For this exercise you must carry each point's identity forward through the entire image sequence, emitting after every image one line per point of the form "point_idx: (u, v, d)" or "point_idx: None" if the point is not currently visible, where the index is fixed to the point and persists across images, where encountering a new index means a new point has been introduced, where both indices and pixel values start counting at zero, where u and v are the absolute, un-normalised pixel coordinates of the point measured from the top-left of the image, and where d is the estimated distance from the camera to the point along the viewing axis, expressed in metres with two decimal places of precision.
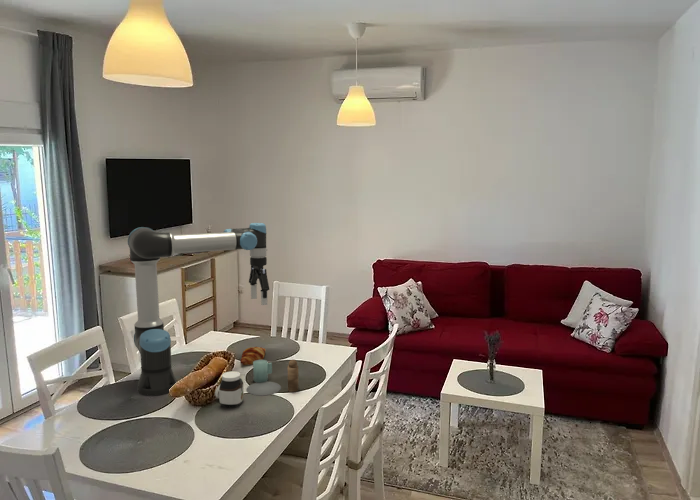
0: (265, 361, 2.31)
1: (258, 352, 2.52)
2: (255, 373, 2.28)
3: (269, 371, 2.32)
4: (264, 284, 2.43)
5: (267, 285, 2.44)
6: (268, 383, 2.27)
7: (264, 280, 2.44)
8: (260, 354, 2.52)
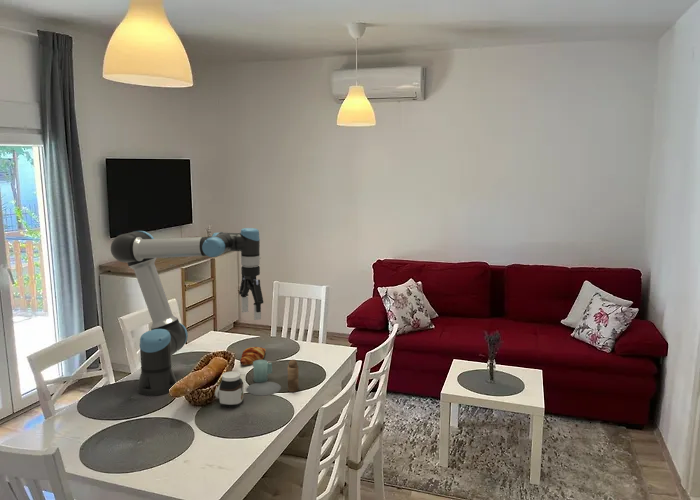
0: (265, 361, 2.31)
1: (258, 352, 2.52)
2: (255, 373, 2.28)
3: (269, 371, 2.32)
4: (258, 297, 2.18)
5: (261, 298, 2.18)
6: (268, 383, 2.27)
7: (258, 292, 2.18)
8: (260, 354, 2.52)
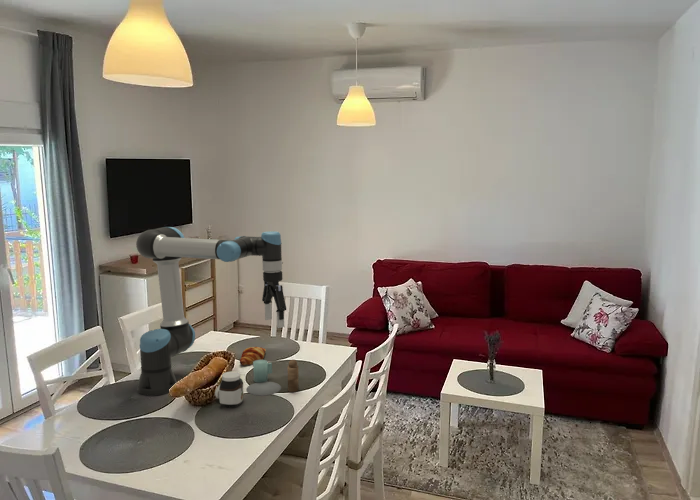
0: (265, 361, 2.31)
1: (258, 352, 2.52)
2: (255, 373, 2.28)
3: (269, 371, 2.32)
4: (280, 303, 2.07)
5: (284, 304, 2.07)
6: (268, 383, 2.27)
7: (280, 299, 2.07)
8: (260, 354, 2.52)
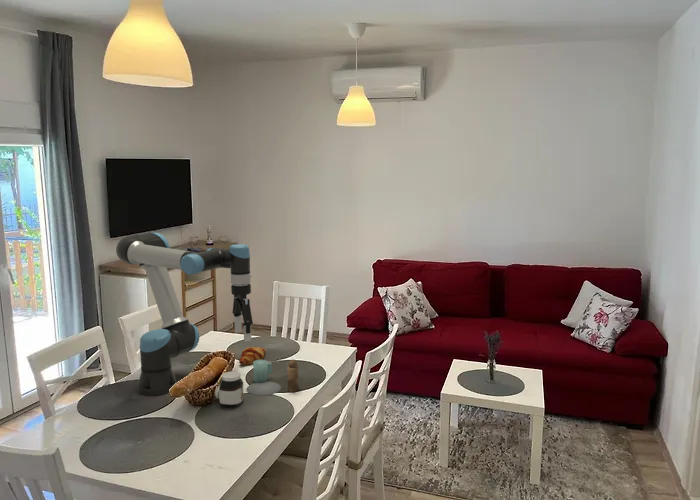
0: (265, 361, 2.31)
1: (257, 352, 2.52)
2: (255, 373, 2.28)
3: (269, 371, 2.32)
4: (246, 317, 2.06)
5: (250, 318, 2.06)
6: (268, 383, 2.27)
7: (247, 312, 2.06)
8: (259, 354, 2.52)
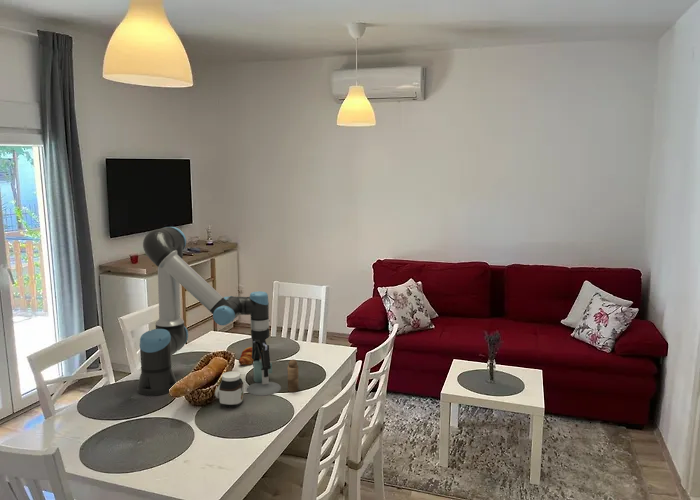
0: None
1: None
2: (255, 373, 2.28)
3: (269, 371, 2.32)
4: (265, 363, 2.22)
5: (268, 363, 2.23)
6: None
7: (266, 358, 2.22)
8: None
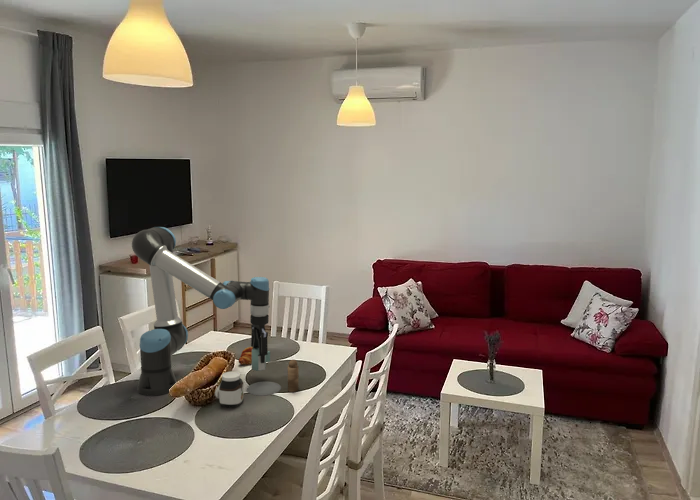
0: None
1: None
2: (253, 361, 2.27)
3: (267, 359, 2.31)
4: (263, 349, 2.23)
5: (266, 350, 2.23)
6: (268, 383, 2.27)
7: (263, 345, 2.23)
8: None
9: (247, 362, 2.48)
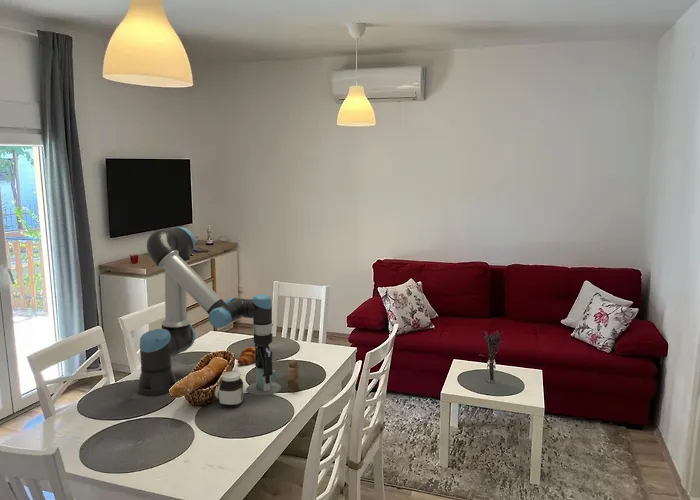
0: None
1: None
2: (258, 381, 2.19)
3: (273, 379, 2.23)
4: (267, 369, 2.15)
5: (270, 370, 2.16)
6: None
7: (268, 365, 2.15)
8: None
9: (246, 362, 2.48)
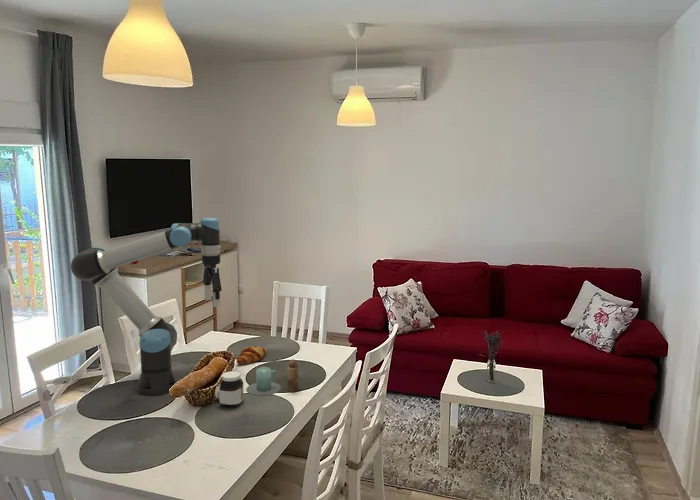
0: (269, 369, 2.21)
1: (256, 352, 2.53)
2: (258, 381, 2.19)
3: (273, 379, 2.23)
4: (216, 284, 2.24)
5: (219, 285, 2.24)
6: None
7: (216, 280, 2.25)
8: (258, 354, 2.53)
9: (245, 362, 2.49)
